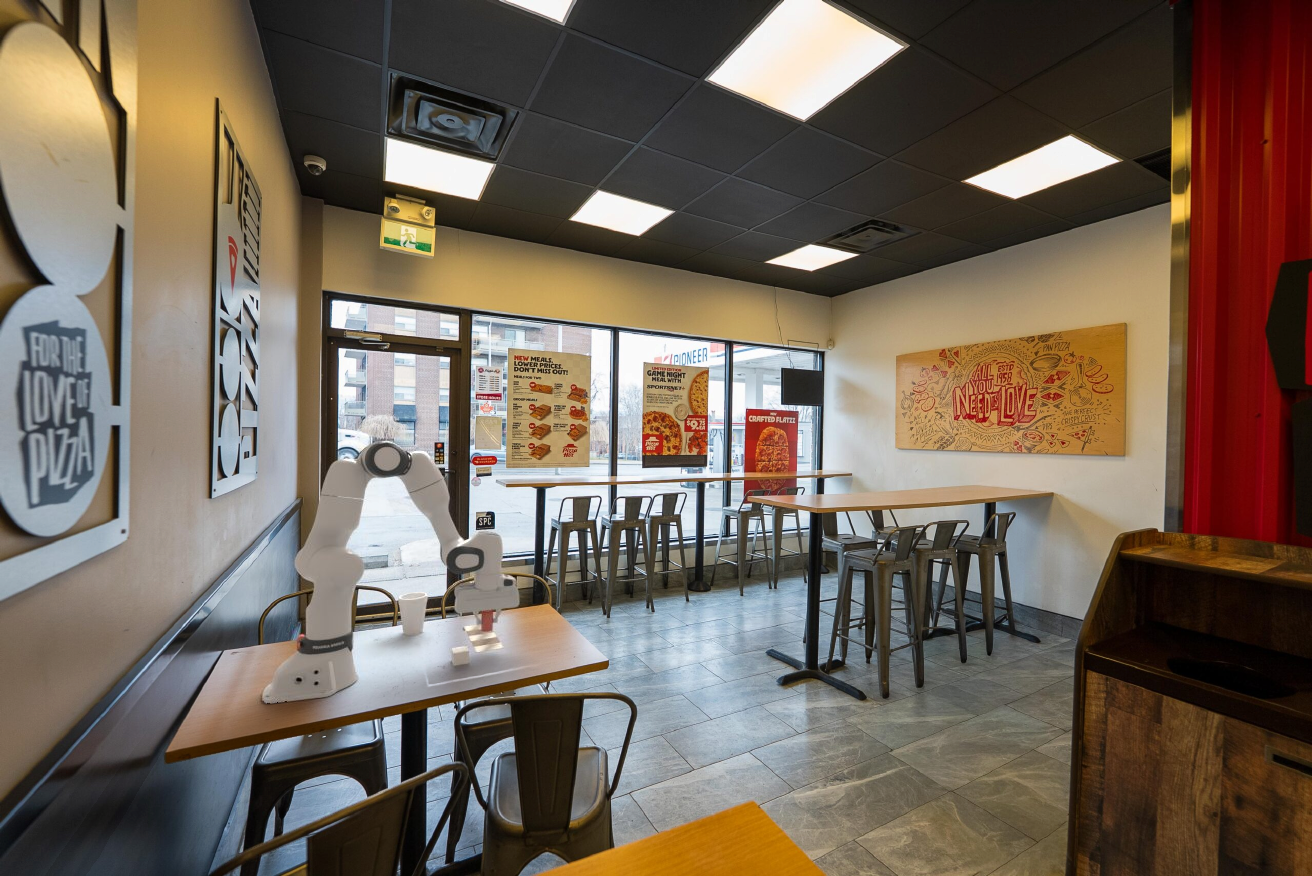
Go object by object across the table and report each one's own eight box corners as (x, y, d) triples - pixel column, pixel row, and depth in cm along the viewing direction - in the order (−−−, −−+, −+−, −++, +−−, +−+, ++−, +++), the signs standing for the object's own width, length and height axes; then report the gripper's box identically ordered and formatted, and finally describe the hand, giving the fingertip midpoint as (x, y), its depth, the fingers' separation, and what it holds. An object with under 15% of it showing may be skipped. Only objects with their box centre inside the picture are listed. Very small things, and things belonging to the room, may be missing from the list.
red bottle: (482, 632, 178) (482, 605, 178) (480, 628, 181) (481, 602, 181) (493, 630, 179) (494, 604, 179) (491, 627, 183) (492, 601, 183)
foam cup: (418, 625, 204) (418, 590, 204) (432, 630, 198) (432, 594, 198) (393, 633, 196) (393, 596, 196) (407, 638, 190) (407, 601, 190)
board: (476, 654, 176) (476, 652, 176) (463, 628, 201) (463, 626, 201) (504, 649, 181) (504, 647, 181) (488, 624, 205) (488, 622, 205)
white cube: (453, 668, 166) (453, 653, 166) (451, 662, 170) (451, 648, 170) (468, 665, 168) (468, 650, 168) (466, 659, 172) (466, 645, 172)
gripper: (455, 585, 173) (454, 630, 173) (521, 580, 182) (520, 622, 182) (453, 581, 179) (452, 624, 178) (516, 576, 188) (515, 616, 188)
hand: (487, 623), depth 180 cm, fingers closed on red bottle, 4 cm apart
